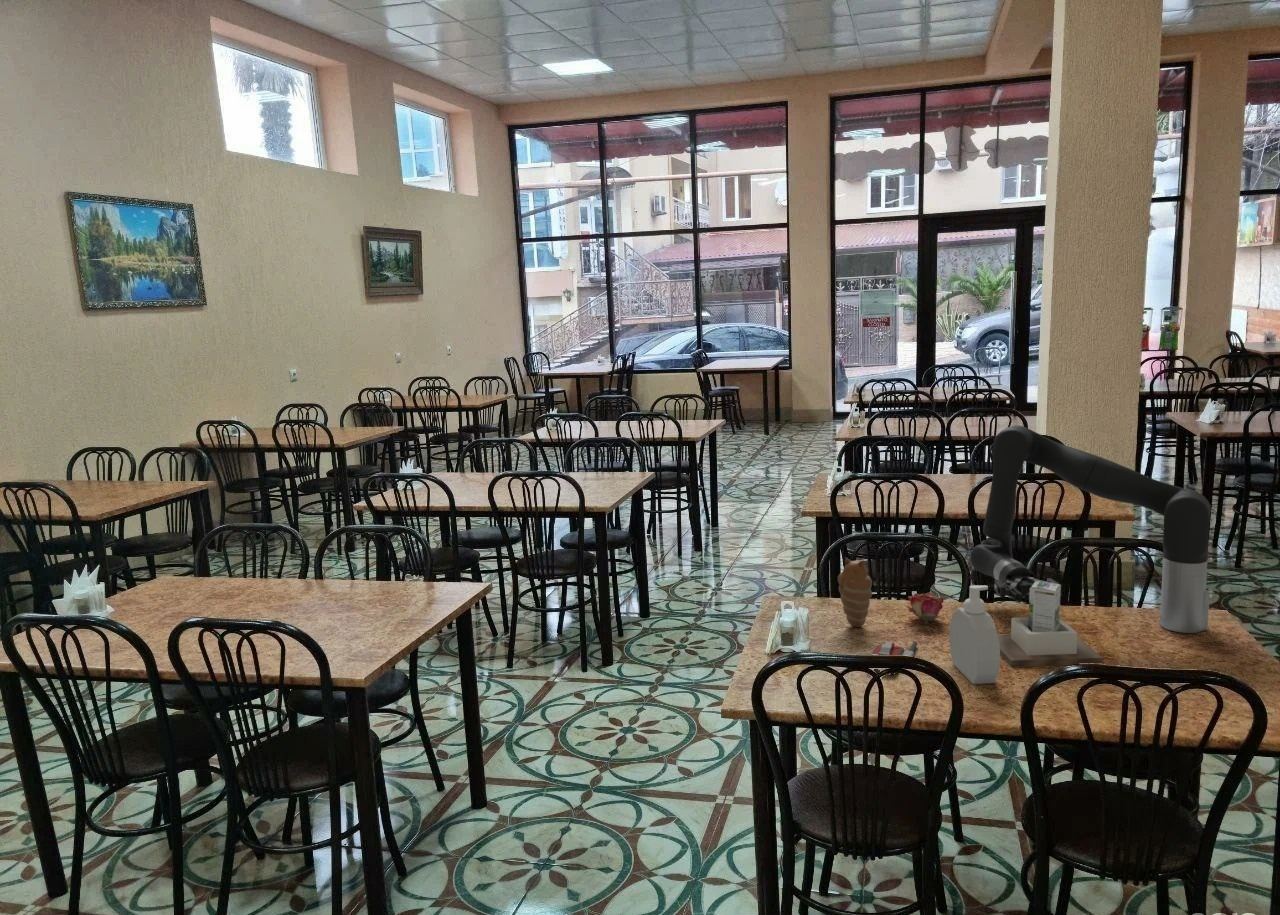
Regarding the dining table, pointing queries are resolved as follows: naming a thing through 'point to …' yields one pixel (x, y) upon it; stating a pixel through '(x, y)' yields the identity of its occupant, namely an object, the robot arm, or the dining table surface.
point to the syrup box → (1044, 607)
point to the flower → (925, 606)
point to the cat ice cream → (855, 591)
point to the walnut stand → (1020, 658)
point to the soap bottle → (975, 640)
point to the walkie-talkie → (892, 651)
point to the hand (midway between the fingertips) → (1038, 597)
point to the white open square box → (1044, 639)
